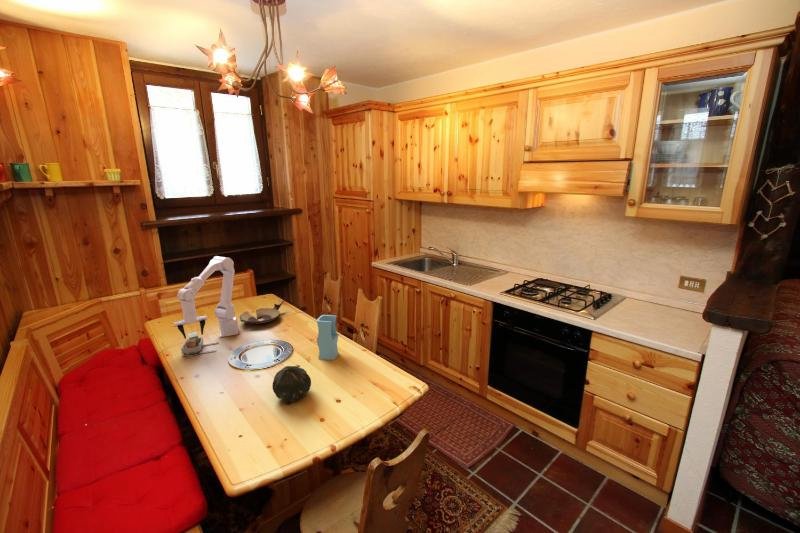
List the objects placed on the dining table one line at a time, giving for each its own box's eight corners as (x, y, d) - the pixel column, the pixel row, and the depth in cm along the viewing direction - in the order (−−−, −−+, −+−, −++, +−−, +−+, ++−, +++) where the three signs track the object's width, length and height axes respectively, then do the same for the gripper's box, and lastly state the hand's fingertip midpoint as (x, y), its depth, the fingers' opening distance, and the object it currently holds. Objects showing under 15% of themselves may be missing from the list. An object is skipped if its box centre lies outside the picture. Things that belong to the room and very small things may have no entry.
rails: (218, 342, 195) (218, 342, 195) (216, 351, 186) (216, 350, 186) (187, 347, 190) (187, 347, 190) (183, 356, 181) (183, 356, 181)
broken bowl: (234, 321, 222) (232, 309, 220) (281, 308, 241) (280, 298, 239) (246, 333, 206) (244, 321, 204) (296, 318, 224) (295, 307, 222)
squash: (301, 367, 159) (279, 354, 148) (323, 381, 150) (301, 367, 139) (281, 398, 154) (257, 386, 143) (303, 413, 145) (279, 402, 134)
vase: (333, 360, 175) (330, 322, 170) (318, 359, 177) (315, 321, 172) (339, 352, 183) (336, 315, 177) (324, 351, 184) (321, 314, 179)
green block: (198, 338, 191) (196, 331, 189) (199, 342, 188) (197, 335, 186) (189, 340, 189) (188, 333, 187) (190, 345, 186) (188, 338, 184)
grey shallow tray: (204, 343, 193) (202, 337, 192) (200, 353, 183) (199, 346, 182) (187, 346, 190) (185, 339, 189) (182, 356, 180) (181, 349, 179)
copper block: (197, 346, 186) (195, 338, 185) (195, 349, 183) (194, 341, 181) (188, 347, 185) (186, 339, 184) (186, 351, 181) (185, 342, 180)
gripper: (204, 305, 191) (208, 329, 194) (172, 312, 183) (177, 336, 187) (205, 310, 185) (210, 334, 189) (172, 316, 177) (177, 342, 181)
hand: (193, 336), depth 187 cm, fingers open, 7 cm apart
